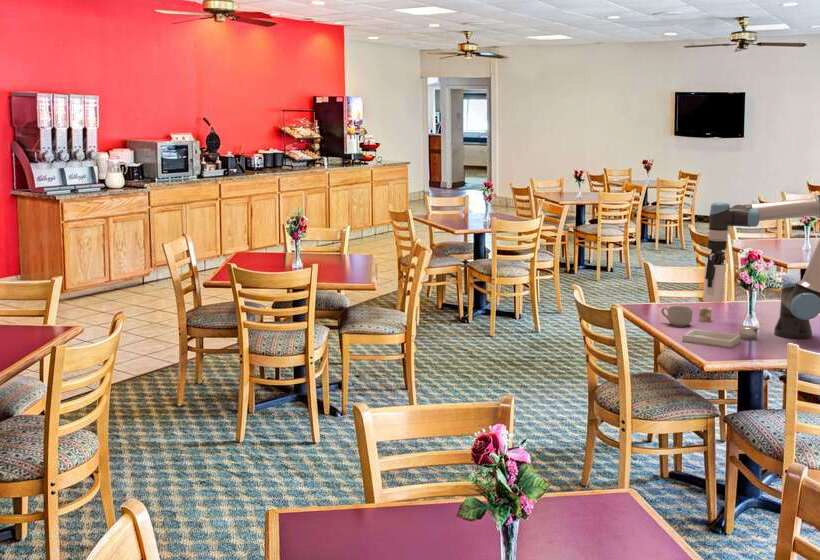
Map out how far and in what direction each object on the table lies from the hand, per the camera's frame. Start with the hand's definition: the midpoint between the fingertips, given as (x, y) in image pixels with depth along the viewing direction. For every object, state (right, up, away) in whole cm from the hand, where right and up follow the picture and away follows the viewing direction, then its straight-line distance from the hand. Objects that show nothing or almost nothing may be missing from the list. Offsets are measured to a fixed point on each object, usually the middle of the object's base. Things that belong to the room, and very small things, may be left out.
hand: (713, 293), depth 393 cm
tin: (+16, -19, +4) cm, 25 cm away
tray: (-2, -20, -2) cm, 21 cm away
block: (+8, -13, +38) cm, 41 cm away
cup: (0, -3, +1) cm, 3 cm away
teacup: (-7, -15, +29) cm, 34 cm away
